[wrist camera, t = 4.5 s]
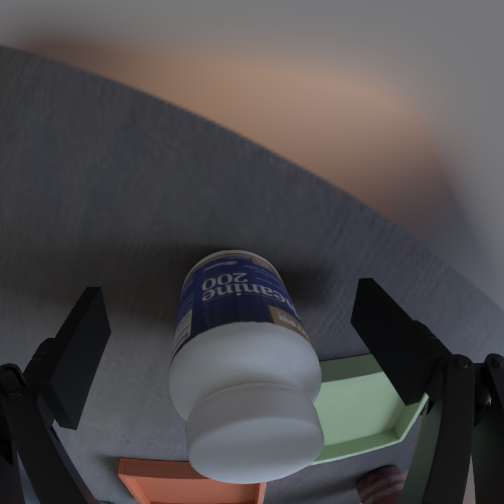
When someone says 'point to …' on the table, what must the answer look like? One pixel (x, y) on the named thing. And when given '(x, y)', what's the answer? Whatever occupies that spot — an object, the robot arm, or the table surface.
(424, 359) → the robot arm
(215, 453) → the pill bottle
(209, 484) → the terracotta tray
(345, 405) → the sage tray
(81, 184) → the table surface
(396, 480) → the can
